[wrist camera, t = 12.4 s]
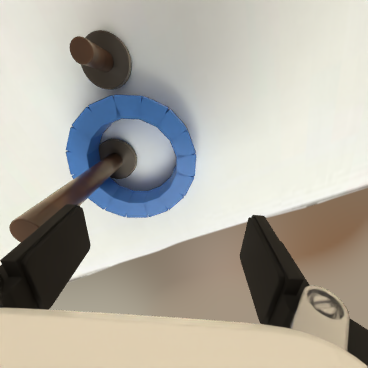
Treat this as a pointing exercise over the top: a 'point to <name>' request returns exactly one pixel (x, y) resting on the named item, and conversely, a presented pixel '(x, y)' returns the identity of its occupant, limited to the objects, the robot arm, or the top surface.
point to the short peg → (102, 59)
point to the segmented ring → (111, 191)
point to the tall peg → (78, 187)
